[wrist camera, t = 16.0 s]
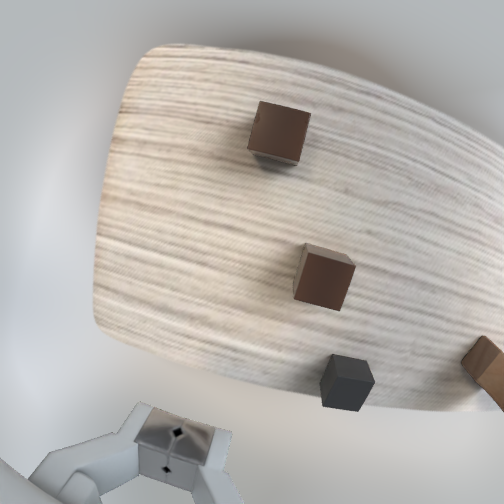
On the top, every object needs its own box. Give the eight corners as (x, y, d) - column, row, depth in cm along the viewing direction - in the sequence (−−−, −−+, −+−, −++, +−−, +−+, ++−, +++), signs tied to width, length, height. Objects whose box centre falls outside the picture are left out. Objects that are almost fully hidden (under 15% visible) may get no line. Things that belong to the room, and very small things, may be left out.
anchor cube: (319, 383, 30) (322, 406, 26) (332, 353, 29) (337, 375, 25) (352, 389, 29) (358, 411, 25) (366, 360, 28) (375, 382, 25)
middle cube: (292, 283, 28) (293, 299, 24) (305, 242, 27) (308, 252, 23) (333, 294, 27) (339, 311, 23) (346, 254, 26) (356, 265, 22)
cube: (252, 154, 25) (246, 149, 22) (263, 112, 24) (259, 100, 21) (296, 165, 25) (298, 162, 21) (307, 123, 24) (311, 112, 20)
